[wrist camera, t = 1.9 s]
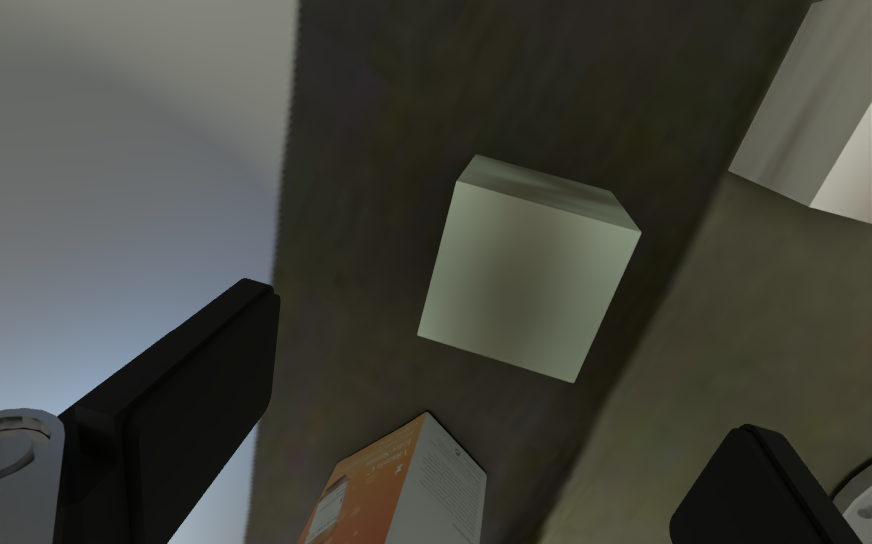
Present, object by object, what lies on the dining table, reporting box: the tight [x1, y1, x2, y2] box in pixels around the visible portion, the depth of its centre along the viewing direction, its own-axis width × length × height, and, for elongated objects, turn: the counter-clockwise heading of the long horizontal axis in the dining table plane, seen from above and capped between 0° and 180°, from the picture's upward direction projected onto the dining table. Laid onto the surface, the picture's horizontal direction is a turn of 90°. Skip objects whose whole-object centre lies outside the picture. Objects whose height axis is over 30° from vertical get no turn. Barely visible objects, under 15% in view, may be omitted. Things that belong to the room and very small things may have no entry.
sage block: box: [417, 154, 642, 383], centre depth 18 cm, size 6×6×6 cm
